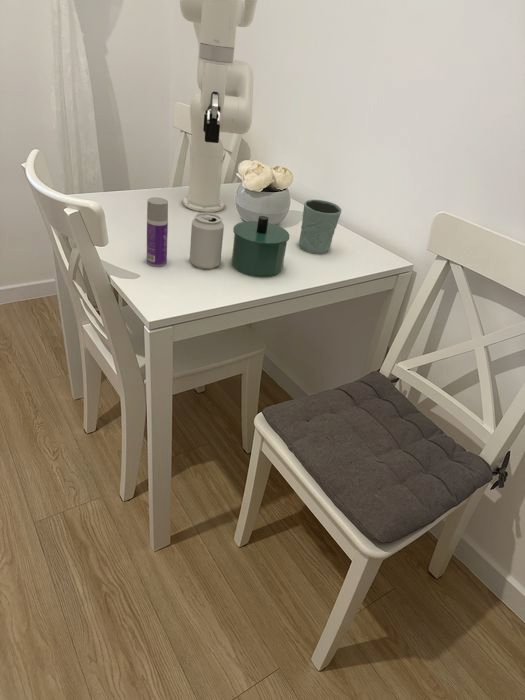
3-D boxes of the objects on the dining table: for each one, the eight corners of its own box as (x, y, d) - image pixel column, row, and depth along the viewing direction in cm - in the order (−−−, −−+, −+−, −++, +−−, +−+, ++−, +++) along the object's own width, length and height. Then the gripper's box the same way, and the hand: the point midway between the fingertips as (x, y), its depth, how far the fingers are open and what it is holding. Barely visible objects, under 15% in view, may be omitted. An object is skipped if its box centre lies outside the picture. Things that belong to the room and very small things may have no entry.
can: (215, 273, 121) (219, 225, 114) (185, 266, 121) (187, 218, 115) (223, 261, 127) (228, 214, 120) (194, 254, 128) (197, 208, 121)
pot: (233, 275, 121) (237, 242, 116) (230, 253, 131) (233, 221, 126) (285, 278, 123) (291, 246, 119) (277, 256, 133) (282, 225, 129)
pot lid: (235, 245, 116) (237, 226, 114) (230, 223, 127) (232, 205, 125) (293, 249, 119) (296, 230, 116) (283, 227, 130) (286, 210, 127)
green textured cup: (306, 237, 147) (314, 196, 141) (338, 248, 144) (347, 207, 137) (290, 247, 140) (297, 204, 133) (323, 259, 136) (332, 215, 130)
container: (167, 266, 120) (169, 204, 112) (147, 266, 119) (148, 204, 110) (165, 258, 124) (166, 197, 115) (145, 258, 122) (145, 196, 114)
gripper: (198, 48, 117) (194, 127, 127) (200, 56, 103) (195, 144, 113) (230, 53, 119) (223, 130, 128) (236, 61, 105) (228, 148, 114)
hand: (210, 137), depth 121 cm, fingers open, 9 cm apart
